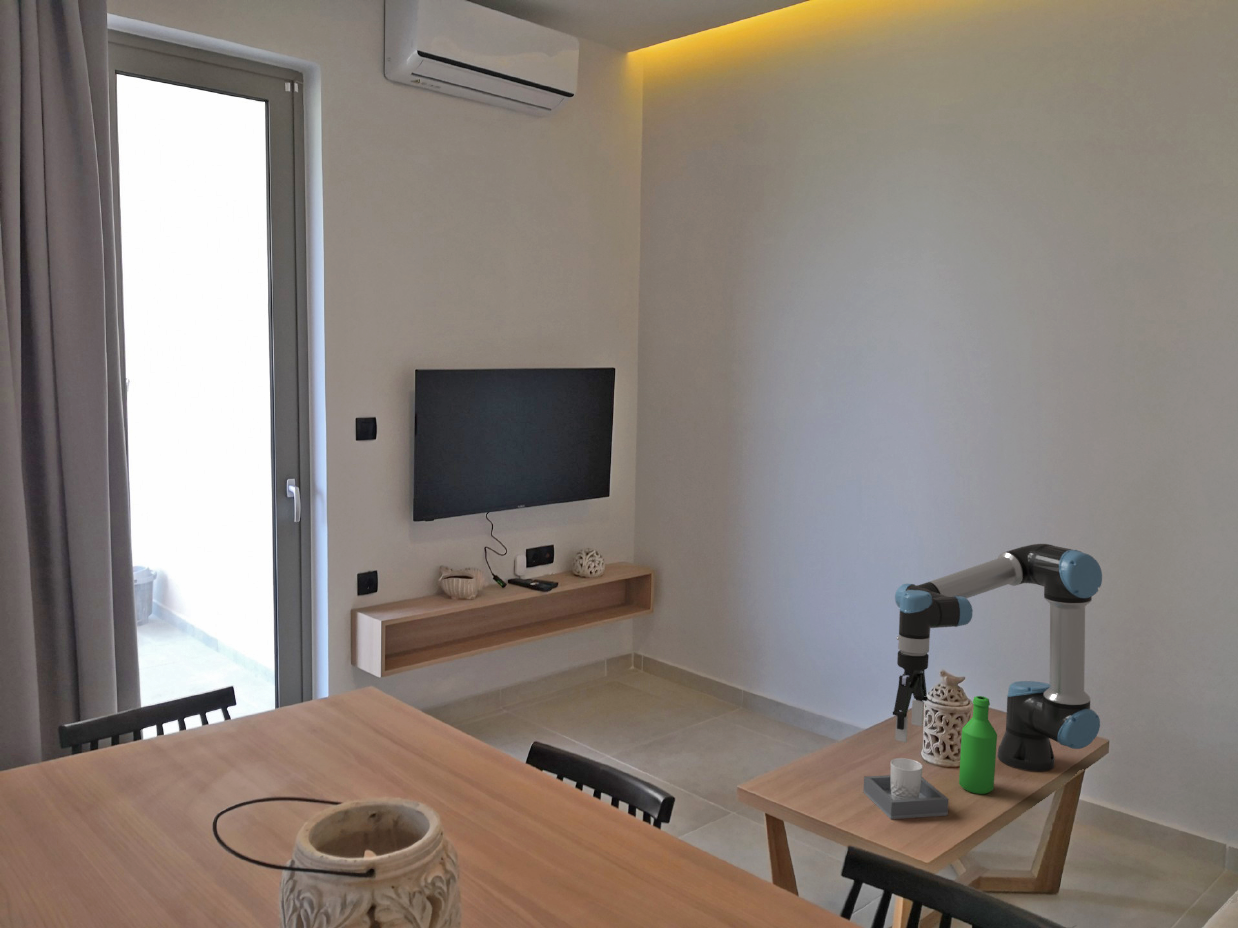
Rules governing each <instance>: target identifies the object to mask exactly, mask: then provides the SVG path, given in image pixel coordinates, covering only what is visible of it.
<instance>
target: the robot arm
mask: <svg viewBox="0 0 1238 928" xmlns="http://www.w3.org/2000/svg"><path fill="white" fill-rule="evenodd" d="M1102 572H1103V571H1102V569H1101V566H1100V564H1099V562H1098V561H1097V559H1095V558H1094V557H1093V556H1092V555H1090V554H1088V553H1085V552H1082V551H1080V550H1077V549H1071V548H1065V547H1060V546H1057V545H1053V544H1048V543H1034V544H1028V545H1025V546H1021V547H1016V548H1014V549H1011V550H1008V551H1005V552H1002V553H1000V554H999V555H998V557H997V558H995V559H992V560H989V561H986V562H983V563H980V564H978V565H974V566H971V567H968V568H966V569H963V570H959V571H957V572H954V573H951V574H948V575H945V576H942V577H939V578H936V579H933V580H931V581H927V582H924V583H922V584H917V585H916V584H913V583H903V584H902V585H900V586H899V587H898V588H897V590H896V591H895V595H894V601H895V604H896V606H897V607H898V609H899V619H898V620H899V622H898V623H899V625H898V636H896V640H897V641H898V646H897V648H898V651H897V658H896V659H897V661H896V662H897V666H898V667H899V668H902V669H903V670H904V671H903V673H902V675H899V677H898V686H897V691H896V697H895V702H894V708H893V711H892V715H893V716H895V731H894V733H895V735H894V740H895V741H898V742H901V743H907V742H908V738H907V737H908V724H909V723H908V722H909V717H908V711H909V707H910V703H912V705H911V720H910V721H911V725H913V726H916V727H923V724H924V723H923V722H924V703H925V702H928V696H927V695H928V694H927V692H928V691H927V684H926V675H925V673H926V672H925V671H926V670H927V669H928V668H929V657H930V656H929V654H928V653H929V652H930V640H931V639H930V637H931V629H938V628H939V629H940V628H951V627H954V628H957V627H962V626H966V625H968V624H969V623H970V622H971V621H972V620H973V619H972V618H973V606H972V604H971V601H970V600H969V598H972V597H975V596H978V595H980V594H984V593H987V592H989V591H993V590H995V589H998V588H1002V587H1004V586H1007V585H1009V586H1012V587H1016V586H1019V585H1022V584H1032V585H1038V586H1041V587H1043V590H1044V591H1043V598H1044V600H1045V601H1047V603H1049V683H1047V682H1041V681H1033V680H1022V681H1021V680H1020V681H1019V680H1018V681H1014V682H1012V683H1011V684H1010V685H1009V686H1008V693H1007V695H1006V721H1005V722H1006V723H1005V733H1004V734H1003V736H1002V739H1001V740H1000V744H999V746H998V749H997V758H998V760H999V761H1000V762H1002V763H1003V764H1005V765H1007V766H1009V767H1012V768H1016V769H1018V770H1022V771H1023V770H1024V771H1029V772H1045V771H1050V770H1052V769H1054V767H1055V761H1056V760H1055V759H1056V758H1055V755H1054V751H1053V747H1052V743H1051V740H1052V741H1055V742H1056V743H1058V744H1059V745H1061V746H1064V747H1068V748H1070V749H1074V750H1081V749H1083V748H1085V747H1086V748H1087V747H1088V746H1090V745H1091V744H1092V742H1093V741H1094V740H1095V739H1096V738H1097V736H1098V734H1099V731H1100V728H1101V720H1100V717H1099V715H1098V714H1097V712H1096V711H1095V710H1093V709H1091V697H1090V695H1089V694H1088V693H1087V692H1086V691H1085V666H1086V665H1085V662H1086V661H1085V657H1086V653H1085V652H1086V651H1085V650H1086V646H1085V645H1086V636H1085V635H1086V606H1087V605H1089V604H1090V603H1091V602H1092V599H1093V596H1095V595H1096V594H1097V593H1098V592H1099V588H1101V586H1102V583H1103V573H1102ZM912 695H913V699H912ZM911 699H912V700H911ZM911 701H912V702H911Z"/></svg>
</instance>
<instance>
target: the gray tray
mask: <svg viewBox="0 0 1238 928" xmlns="http://www.w3.org/2000/svg"><path fill="white" fill-rule="evenodd" d="M863 793H864V794H865V795H866V797H867V798H869V800H871V801H872V802H873V803H874V804H875V805H876V807H877V808H878V809H880V810H881V811H882V812H883V813H884V814H885V815H886V816H887V817H888V818H889V819H890V820H901V819H916V817H917V818H928V817H929V818H930V817H942V816H943V817H945V816H948V815H949V801H950V799H949V797H947V796H946V795H945V794H943V793H942V792H941V791H940V790H939V789H938V788H936V787H935V786H934V785H932V784H931V783H930V782H929V781H927V780H926V778H924V777H923V776H922V778H921V787H920V793H919V799H904V800H893V799H892V798H891V784H890V774H888V775H872V776H871V775H869V776H868V775H867V776H863Z"/></svg>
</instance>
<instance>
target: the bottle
mask: <svg viewBox="0 0 1238 928" xmlns="http://www.w3.org/2000/svg"><path fill="white" fill-rule="evenodd" d="M972 704H973V707H972V708H973V711H972V717H971V718H970V719H969V720H968V722H967V723H966V724H965V725H964V726H963V727H962V729H961V738H960V739H961V740H960V760H959V775H958V784H959V786H961V788H962V789H964V790H965V791H967V792H969V793H972V794H978V795H985V794H988V793H991V792H992V791H994V787H995V775H996V774H995V772H996V760H997V759H996V758H997V757H996V756H997V744H998V743H997V742H998V733H997V731H996V730H995V728H994V726H993V725H992V723H991V722H990V720H989V708H990V707H989V706H990V705H991V703H990V699H989V698H988V697H985V696H982V695H977V696H974V697H973V699H972Z"/></svg>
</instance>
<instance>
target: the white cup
mask: <svg viewBox="0 0 1238 928" xmlns="http://www.w3.org/2000/svg"><path fill="white" fill-rule="evenodd" d="M923 767H924V765H923V764H922V763H921V762H920V761H917V760H914V759H911V758H904V757H899V758H897V757H896V758H893V759H892V760H890V773H889V775H890V784H891V798H892V799H893V800H904V799H919V793H920V787H921V778H922V777H923V776H922V775H923Z"/></svg>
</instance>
